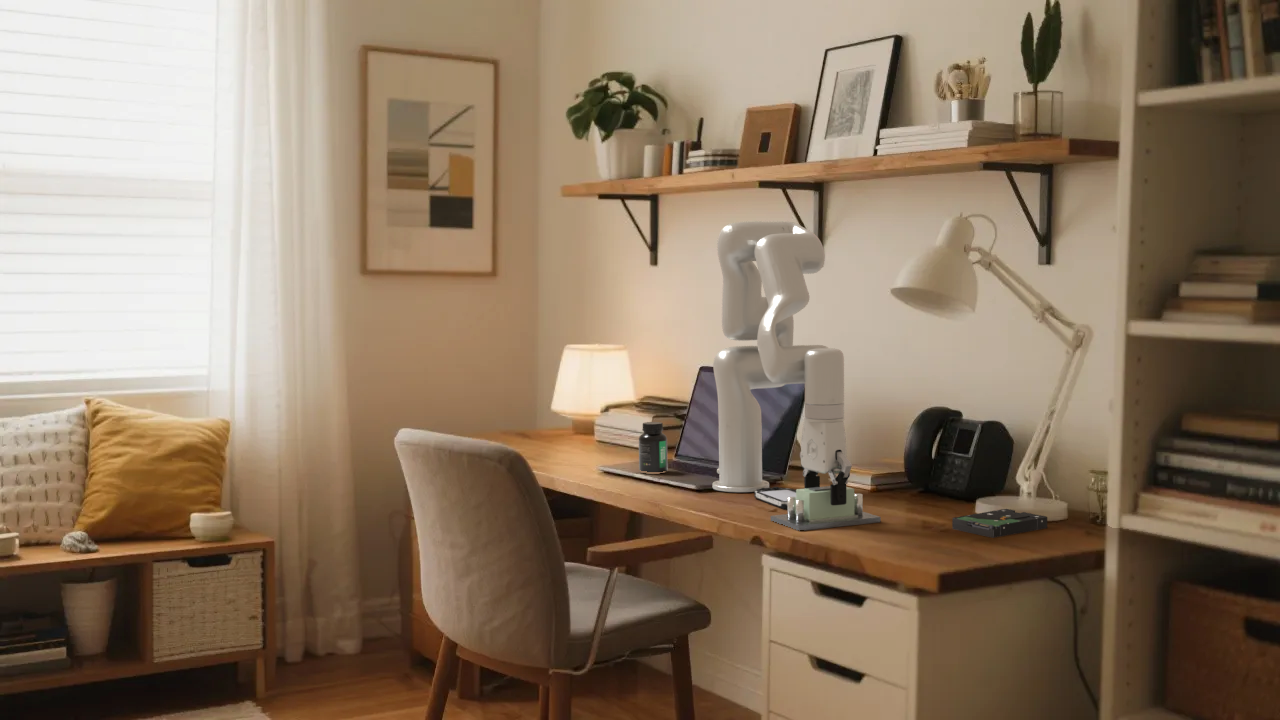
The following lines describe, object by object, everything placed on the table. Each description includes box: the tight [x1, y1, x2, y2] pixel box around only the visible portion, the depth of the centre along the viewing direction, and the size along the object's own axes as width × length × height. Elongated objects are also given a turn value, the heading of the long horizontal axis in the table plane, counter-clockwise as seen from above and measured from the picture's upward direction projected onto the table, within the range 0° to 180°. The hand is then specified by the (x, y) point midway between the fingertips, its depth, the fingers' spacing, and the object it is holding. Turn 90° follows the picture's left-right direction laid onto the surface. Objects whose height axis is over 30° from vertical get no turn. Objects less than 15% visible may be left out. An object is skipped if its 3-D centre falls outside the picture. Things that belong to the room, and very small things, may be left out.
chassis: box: [770, 493, 882, 532], centre depth 259 cm, size 11×18×5 cm, turn 113°
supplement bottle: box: [638, 421, 669, 472], centre depth 321 cm, size 7×7×12 cm
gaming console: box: [753, 486, 796, 511], centre depth 279 cm, size 19×9×2 cm, turn 20°
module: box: [795, 485, 855, 519], centre depth 259 cm, size 5×10×5 cm, turn 113°
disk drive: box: [951, 508, 1048, 539], centre depth 250 cm, size 10×3×15 cm
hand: (825, 500), depth 259 cm, fingers open, 9 cm apart
